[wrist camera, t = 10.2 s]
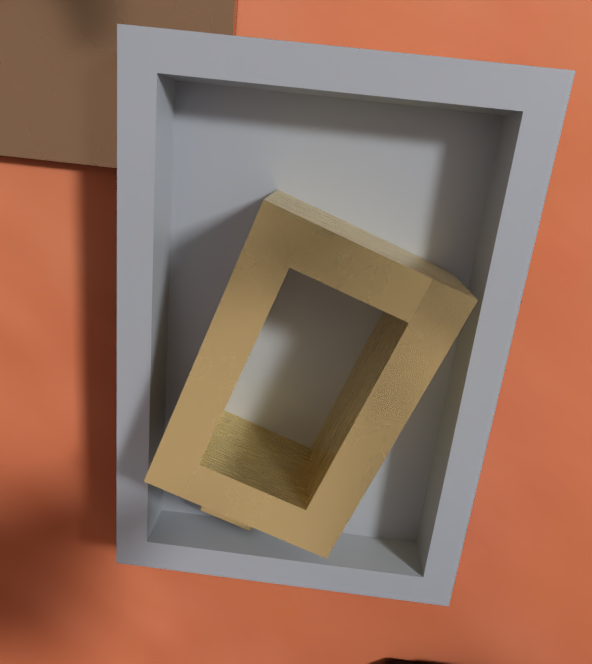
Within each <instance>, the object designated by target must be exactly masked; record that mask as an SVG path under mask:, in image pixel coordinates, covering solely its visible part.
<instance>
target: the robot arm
mask: <svg viewBox="0 0 592 664" xmlns="http://www.w3.org/2000/svg"><path fill="white" fill-rule="evenodd" d="M385 664H416V663H408V662H401V661H390V662H387V663H385Z"/></svg>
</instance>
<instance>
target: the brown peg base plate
mask: <svg viewBox="0 0 592 664" xmlns="http://www.w3.org/2000/svg"><path fill="white" fill-rule="evenodd" d="M237 6H238V0H0V155H2V156H11V157H20V158H29V159H38V160H48V161H57V162H66V163H75V164H84V165H93V166H102V167H111V168H117V24H125V25H135V26H145V27H155V28H165V29H174V30H184V31H194V32H204V33H213V34H223V35H233V36H236V22H237Z"/></svg>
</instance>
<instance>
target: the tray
mask: <svg viewBox="0 0 592 664" xmlns="http://www.w3.org/2000/svg"><path fill="white" fill-rule="evenodd" d="M574 75H575V71H574V70H565V69H555V68H545V67H535V66H526V65H516V64H506V63H496V62H487V61H477V60H467V59H457V58H447V57H438V56H428V55H418V54H408V53H399V52H389V51H379V50H369V49H360V48H350V47H340V46H330V45H321V44H311V43H301V42H291V41H282V40H272V39H262V38H252V37H243V36H233V35H223V34H213V33H204V32H194V31H184V30H174V29H165V28H155V27H145V26H135V25H125V24H117V519H116V563H122V564H129V565H137V566H145V567H152V568H160V569H167V570H175V571H183V572H190V573H198V574H206V575H213V576H221V577H229V578H236V579H244V580H252V581H259V582H267V583H275V584H282V585H290V586H298V587H305V588H313V589H320V590H328V591H336V592H343V593H351V594H359V595H366V596H374V597H382V598H389V599H397V600H405V601H412V602H420V603H428V604H435V605H443V606H449V603H450V599H451V594H452V590H453V586H454V582H455V577H456V573H457V569H458V565H459V561H460V556H461V552H462V548H463V544H464V539H465V535H466V531H467V527H468V523H469V518H470V514H471V510H472V506H473V502H474V497H475V493H476V489H477V485H478V480H479V476H480V472H481V468H482V464H483V459H484V455H485V451H486V447H487V442H488V438H489V434H490V430H491V426H492V421H493V417H494V413H495V409H496V404H497V400H498V396H499V392H500V388H501V383H502V379H503V375H504V371H505V366H506V362H507V358H508V354H509V350H510V345H511V341H512V337H513V333H514V328H515V324H516V320H517V316H518V312H519V307H520V303H521V299H522V295H523V290H524V286H525V282H526V278H527V274H528V269H529V265H530V261H531V257H532V252H533V248H534V244H535V240H536V236H537V231H538V227H539V223H540V219H541V215H542V210H543V206H544V202H545V198H546V193H547V189H548V185H549V181H550V177H551V172H552V168H553V164H554V160H555V155H556V151H557V147H558V143H559V139H560V134H561V130H562V126H563V122H564V117H565V113H566V109H567V105H568V101H569V96H570V92H571V88H572V84H573V79H574ZM277 189H278V190H280V191H282V192H284V193H286V194H288V195H290V196H293V197H295V198H297V199H299V200H301V201H303V202H305V203H307V204H309V205H312V206H314V207H316V208H318V209H320V210H322V211H324V212H326V213H329V214H331V215H333V216H335V217H337V218H339V219H341V220H343V221H345V222H348V223H350V224H352V225H354V226H356V227H358V228H360V229H362V230H365V231H367V232H369V233H371V234H373V235H375V236H377V237H379V238H382V239H384V240H386V241H388V242H390V243H392V244H394V245H396V246H398V247H401V248H403V249H405V250H407V251H409V252H411V253H413V254H415V255H418V256H420V257H422V258H424V259H426V260H428V261H430V262H432V263H434V264H437V265H439V266H441V267H443V268H445V269H447V270H449V271H451V272H452V273H453V274H454V276H455V277H456V278H457V279H458V280H459V281H460V282H461V283H462V284H463V285H464V286H465V287H466V288H467V289H468V290H469V291H470V292H471V293H472V294H473V296H474V297H475V298H476V299H477V300H478V301H477V303H476V305H475V306H474V308H473V310H472V311H471V313H470V315H469V317H468V318H467V320H466V322H465V323H464V325H463V327H462V328H461V330H460V332H459V334H458V335H457V337H456V339H455V340H454V342H453V344H452V346H451V347H450V349H449V351H448V352H447V354H446V356H445V357H444V359H443V361H442V363H441V364H440V366H439V368H438V369H437V371H436V373H435V375H434V376H433V378H432V380H431V381H430V383H429V385H428V386H427V388H426V390H425V392H424V393H423V395H422V397H421V398H420V400H419V402H418V404H417V405H416V407H415V409H414V410H413V412H412V414H411V416H410V417H409V419H408V421H407V422H406V424H405V426H404V427H403V429H402V431H401V433H400V434H399V436H398V438H397V439H396V441H395V443H394V445H393V446H392V448H391V450H390V451H389V453H388V455H387V456H386V458H385V460H384V462H383V463H382V465H381V467H380V468H379V470H378V472H377V474H376V475H375V477H374V479H373V480H372V482H371V484H370V485H369V487H368V489H367V491H366V492H365V494H364V496H363V497H362V499H361V501H360V503H359V504H358V506H357V508H356V509H355V511H354V513H353V514H352V516H351V518H350V520H349V521H348V523H347V525H346V526H345V528H344V530H343V532H342V533H341V535H340V537H339V538H338V540H337V542H336V544H335V545H334V547H333V549H332V550H331V552H330V554H329V555H328V557H327V559H326V558H324V557H321V556H319V555H317V554H314V553H312V552H309V551H307V550H305V549H302V548H300V547H298V546H295V545H293V544H290V543H288V542H286V541H283V540H281V539H279V538H276V537H274V536H272V535H269V534H267V533H264V532H262V531H260V530H257V529H255V528H253V527H252V528H251V530H250V531H249V530H246V529H244V528H242V527H239V526H237V525H234V524H232V523H230V522H227V521H225V520H223V519H220V518H218V517H215V516H213V515H211V514H208V513H206V512H204V511H201V507H202V506H200V505H198V504H196V503H193V502H191V501H189V500H186V499H184V498H182V497H179V496H177V495H174V494H172V493H170V492H167V491H165V490H163V489H160V488H158V487H156V486H153V485H151V484H148V483H146V482H144V480H145V477H146V475H147V473H148V470H149V468H150V465H151V463H152V461H153V458H154V456H155V454H156V451H157V449H158V447H159V444H160V442H161V440H162V437H163V435H164V433H165V430H166V428H167V425H168V423H169V421H170V418H171V416H172V414H173V411H174V409H175V407H176V404H177V402H178V400H179V397H180V395H181V393H182V390H183V388H184V385H185V383H186V381H187V378H188V376H189V374H190V371H191V369H192V367H193V364H194V362H195V360H196V357H197V355H198V353H199V350H200V348H201V345H202V343H203V341H204V338H205V336H206V334H207V331H208V329H209V327H210V324H211V322H212V320H213V317H214V315H215V313H216V310H217V308H218V305H219V303H220V301H221V298H222V296H223V294H224V291H225V289H226V287H227V284H228V282H229V280H230V277H231V275H232V273H233V270H234V268H235V265H236V263H237V261H238V258H239V256H240V254H241V251H242V249H243V247H244V244H245V242H246V240H247V237H248V235H249V233H250V230H251V228H252V225H253V223H254V221H255V218H256V216H257V214H258V211H259V209H260V207H261V204H262V202H263V200H264V199H265V198H266V197H268V196H269V195H270V194H272V193H273V192H275V191H276V190H277ZM382 313H383V311H382V310H380V309H378V308H376V307H374V306H371V305H369V304H367V303H365V302H363V301H361V300H358V299H356V298H354V297H352V296H350V295H348V294H345V293H343V292H341V291H339V290H337V289H335V288H332V287H330V286H328V285H326V284H324V283H322V282H319V281H317V280H315V279H313V278H311V277H309V276H306V275H304V274H302V273H300V272H298V271H296V270H293V269H291V268H289V270H288V272H287V274H286V276H285V279H284V281H283V283H282V285H281V287H280V289H279V292H278V294H277V296H276V298H275V300H274V303H273V305H272V307H271V309H270V311H269V313H268V316H267V318H266V320H265V322H264V324H263V327H262V329H261V331H260V333H259V335H258V337H257V340H256V342H255V344H254V346H253V348H252V351H251V353H250V355H249V357H248V359H247V361H246V364H245V366H244V368H243V370H242V372H241V375H240V377H239V379H238V381H237V383H236V385H235V388H234V390H233V392H232V394H231V396H230V398H229V401H228V403H227V405H226V407H225V409H224V410H225V411H227V412H229V413H232V414H234V415H236V416H239V417H241V418H243V419H245V420H248V421H250V422H252V423H255V424H257V425H259V426H261V427H264V428H266V429H268V430H271V431H273V432H275V433H277V434H280V435H282V436H284V437H287V438H289V439H291V440H293V441H296V442H298V443H300V444H303V445H305V446H307V447H309V448H311V447H312V445H313V443H314V441H315V439H316V437H317V435H318V433H319V432H320V430H321V428H322V426H323V424H324V422H325V420H326V418H327V416H328V415H329V413H330V411H331V409H332V407H333V405H334V403H335V401H336V399H337V398H338V396H339V394H340V392H341V390H342V388H343V386H344V384H345V383H346V381H347V379H348V377H349V375H350V373H351V371H352V369H353V367H354V366H355V364H356V362H357V360H358V358H359V356H360V354H361V352H362V350H363V349H364V347H365V345H366V343H367V341H368V339H369V337H370V335H371V334H372V332H373V330H374V328H375V326H376V324H377V322H378V320H379V318H380V317H381V315H382Z"/></svg>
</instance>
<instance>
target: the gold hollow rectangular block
mask: <svg viewBox="0 0 592 664" xmlns="http://www.w3.org/2000/svg"><path fill="white" fill-rule="evenodd" d="M289 268H291V269H293V270H296V271H298V272H300V273H302V274H304V275H306V276H309V277H311V278H313V279H315V280H317V281H319V282H322V283H324V284H326V285H328V286H330V287H332V288H335V289H337V290H339V291H341V292H343V293H345V294H348V295H350V296H352V297H354V298H356V299H358V300H361V301H363V302H365V303H367V304H369V305H371V306H374V307H376V308H378V309H380V310H382V311H383V313H382V315H381V317H380V318H379V320H378V322H377V324H376V326H375V328H374V330H373V332H372V334H371V335H370V337H369V339H368V341H367V343H366V345H365V347H364V349H363V350H362V352H361V354H360V356H359V358H358V360H357V362H356V364H355V366H354V367H353V369H352V371H351V373H350V375H349V377H348V379H347V381H346V383H345V384H344V386H343V388H342V390H341V392H340V394H339V396H338V398H337V399H336V401H335V403H334V405H333V407H332V409H331V411H330V413H329V415H328V416H327V418H326V420H325V422H324V424H323V426H322V428H321V430H320V432H319V433H318V435H317V437H316V439H315V441H314V443H313V445H312V447H311V448H309V447H307V446H305V445H303V444H300V443H298V442H296V441H293V440H291V439H289V438H287V437H284V436H282V435H280V434H277V433H275V432H273V431H271V430H268V429H266V428H264V427H261V426H259V425H257V424H255V423H252V422H250V421H248V420H245V419H243V418H241V417H239V416H236V415H234V414H232V413H229V412H227V411H225V410H224V409H225V407H226V405H227V403H228V401H229V398H230V396H231V394H232V392H233V390H234V388H235V385H236V383H237V381H238V379H239V377H240V375H241V372H242V370H243V368H244V366H245V364H246V361H247V359H248V357H249V355H250V353H251V351H252V348H253V346H254V344H255V342H256V340H257V337H258V335H259V333H260V331H261V329H262V327H263V324H264V322H265V320H266V318H267V316H268V313H269V311H270V309H271V307H272V305H273V303H274V300H275V298H276V296H277V294H278V292H279V289H280V287H281V285H282V283H283V281H284V279H285V276H286V274H287V272H288V270H289ZM477 301H478V300H477V299H476V298H475V297H474V296H473V294H472V293H471V292H470V291H469V290H468V289H467V288H466V287H465V286H464V285H463V284H462V283H461V282H460V281H459V280H458V279H457V278H456V277H455V276H454V274H453V273H452V272H451V271H449V270H447V269H445V268H443V267H441V266H439V265H437V264H434V263H432V262H430V261H428V260H426V259H424V258H422V257H420V256H418V255H415V254H413V253H411V252H409V251H407V250H405V249H403V248H401V247H398V246H396V245H394V244H392V243H390V242H388V241H386V240H384V239H382V238H379V237H377V236H375V235H373V234H371V233H369V232H367V231H365V230H362V229H360V228H358V227H356V226H354V225H352V224H350V223H348V222H345V221H343V220H341V219H339V218H337V217H335V216H333V215H331V214H329V213H326V212H324V211H322V210H320V209H318V208H316V207H314V206H312V205H309V204H307V203H305V202H303V201H301V200H299V199H297V198H295V197H293V196H290V195H288V194H286V193H284V192H282V191H280V190H278V189H277V190H276V191H275V192H273V193H272V194H270V195H269V196H268V197H266V198H265V199H264V200H263V202H262V204H261V207H260V209H259V211H258V214H257V216H256V218H255V221H254V223H253V225H252V228H251V230H250V233H249V235H248V237H247V240H246V242H245V244H244V247H243V249H242V251H241V254H240V256H239V258H238V261H237V263H236V265H235V268H234V270H233V273H232V275H231V277H230V280H229V282H228V284H227V287H226V289H225V291H224V294H223V296H222V298H221V301H220V303H219V305H218V308H217V310H216V313H215V315H214V317H213V320H212V322H211V324H210V327H209V329H208V331H207V334H206V336H205V338H204V341H203V343H202V345H201V348H200V350H199V353H198V355H197V357H196V360H195V362H194V364H193V367H192V369H191V371H190V374H189V376H188V378H187V381H186V383H185V385H184V388H183V390H182V393H181V395H180V397H179V400H178V402H177V404H176V407H175V409H174V411H173V414H172V416H171V418H170V421H169V423H168V425H167V428H166V430H165V433H164V435H163V437H162V440H161V442H160V444H159V447H158V449H157V451H156V454H155V456H154V458H153V461H152V463H151V465H150V468H149V470H148V473H147V475H146V477H145V480H144V482H146V483H148V484H151V485H153V486H156V487H158V488H160V489H163V490H165V491H167V492H170V493H172V494H174V495H177V496H179V497H182V498H184V499H186V500H189V501H191V502H193V503H196V504H198V505H200V506H202V507H201V511H204V512H206V513H208V514H211V515H213V516H215V517H218V518H220V519H223V520H225V521H227V522H230V523H232V524H234V525H237V526H239V527H242V528H244V529H246V530H249V531H250V530H251V528H252V527H253V528H255V529H257V530H260V531H262V532H264V533H267V534H269V535H272V536H274V537H276V538H279V539H281V540H283V541H286V542H288V543H290V544H293V545H295V546H298V547H300V548H302V549H305V550H307V551H309V552H312V553H314V554H317V555H319V556H321V557H324V558H326V559H327V557H328V555H329V554H330V552H331V550H332V549H333V547H334V545H335V544H336V542H337V540H338V538H339V537H340V535H341V533H342V532H343V530H344V528H345V526H346V525H347V523H348V521H349V520H350V518H351V516H352V514H353V513H354V511H355V509H356V508H357V506H358V504H359V503H360V501H361V499H362V497H363V496H364V494H365V492H366V491H367V489H368V487H369V485H370V484H371V482H372V480H373V479H374V477H375V475H376V474H377V472H378V470H379V468H380V467H381V465H382V463H383V462H384V460H385V458H386V456H387V455H388V453H389V451H390V450H391V448H392V446H393V445H394V443H395V441H396V439H397V438H398V436H399V434H400V433H401V431H402V429H403V427H404V426H405V424H406V422H407V421H408V419H409V417H410V416H411V414H412V412H413V410H414V409H415V407H416V405H417V404H418V402H419V400H420V398H421V397H422V395H423V393H424V392H425V390H426V388H427V386H428V385H429V383H430V381H431V380H432V378H433V376H434V375H435V373H436V371H437V369H438V368H439V366H440V364H441V363H442V361H443V359H444V357H445V356H446V354H447V352H448V351H449V349H450V347H451V346H452V344H453V342H454V340H455V339H456V337H457V335H458V334H459V332H460V330H461V328H462V327H463V325H464V323H465V322H466V320H467V318H468V317H469V315H470V313H471V311H472V310H473V308H474V306H475V305H476V303H477Z"/></svg>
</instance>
